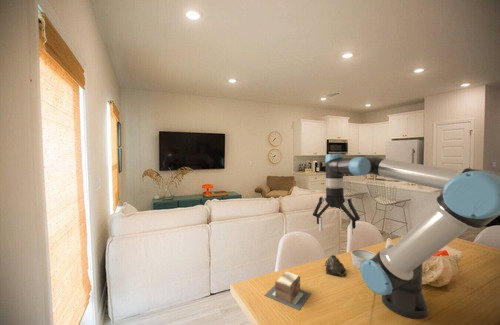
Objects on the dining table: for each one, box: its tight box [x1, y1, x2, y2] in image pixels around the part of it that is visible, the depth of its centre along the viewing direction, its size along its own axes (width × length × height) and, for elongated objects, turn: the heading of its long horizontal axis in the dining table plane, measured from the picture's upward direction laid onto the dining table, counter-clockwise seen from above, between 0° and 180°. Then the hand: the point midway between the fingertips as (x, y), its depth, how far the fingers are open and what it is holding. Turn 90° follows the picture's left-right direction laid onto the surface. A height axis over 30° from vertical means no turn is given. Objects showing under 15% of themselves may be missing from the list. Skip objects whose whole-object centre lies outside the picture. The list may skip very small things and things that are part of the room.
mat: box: [263, 284, 312, 311], centre depth 96 cm, size 16×13×1 cm
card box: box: [274, 271, 301, 303], centre depth 96 cm, size 10×7×7 cm
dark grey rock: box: [324, 254, 346, 277], centre depth 114 cm, size 11×9×10 cm
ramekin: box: [350, 248, 377, 271], centre depth 120 cm, size 13×13×7 cm
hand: (335, 233), depth 101 cm, fingers open, 13 cm apart
